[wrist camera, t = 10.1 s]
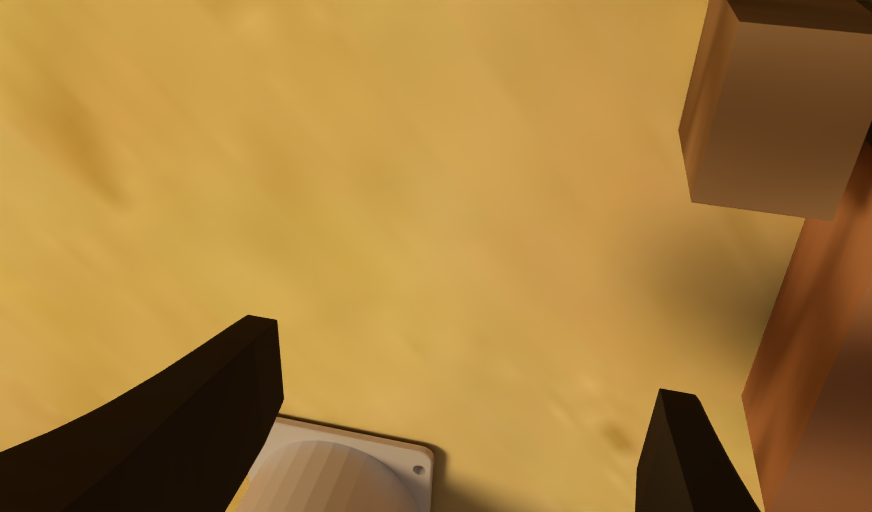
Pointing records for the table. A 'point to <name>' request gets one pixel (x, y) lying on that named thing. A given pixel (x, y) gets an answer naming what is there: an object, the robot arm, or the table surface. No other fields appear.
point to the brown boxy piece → (819, 365)
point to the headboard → (778, 105)
